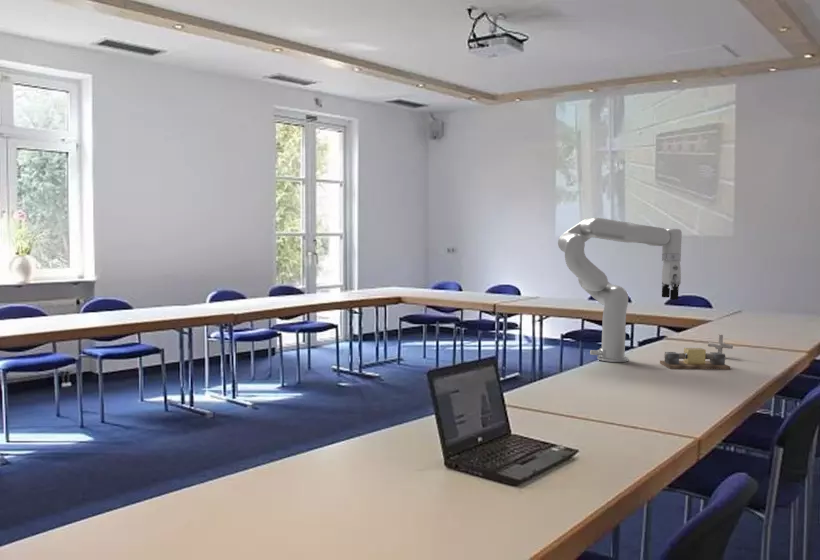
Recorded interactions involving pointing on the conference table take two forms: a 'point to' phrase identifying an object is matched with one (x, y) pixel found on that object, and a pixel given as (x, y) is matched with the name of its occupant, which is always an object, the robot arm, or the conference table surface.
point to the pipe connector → (720, 344)
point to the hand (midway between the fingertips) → (669, 298)
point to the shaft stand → (673, 363)
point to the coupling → (694, 356)
